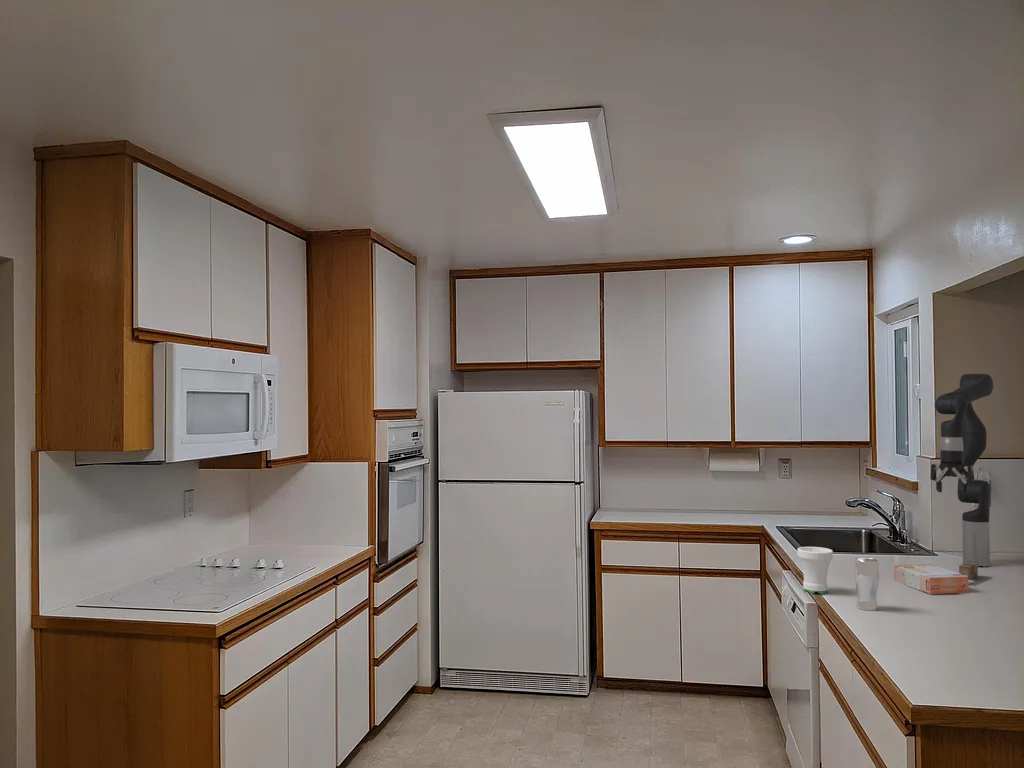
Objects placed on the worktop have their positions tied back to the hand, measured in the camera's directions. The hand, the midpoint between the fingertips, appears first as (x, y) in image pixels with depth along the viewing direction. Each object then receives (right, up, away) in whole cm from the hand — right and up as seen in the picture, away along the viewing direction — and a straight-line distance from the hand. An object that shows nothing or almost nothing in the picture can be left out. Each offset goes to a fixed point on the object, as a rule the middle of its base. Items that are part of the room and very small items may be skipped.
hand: (952, 493), depth 300 cm
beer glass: (-54, -29, -50) cm, 79 cm away
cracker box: (-20, -27, -11) cm, 36 cm away
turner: (-2, -29, -13) cm, 32 cm away
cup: (-62, -30, -29) cm, 74 cm away
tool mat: (-1, -30, -11) cm, 32 cm away
